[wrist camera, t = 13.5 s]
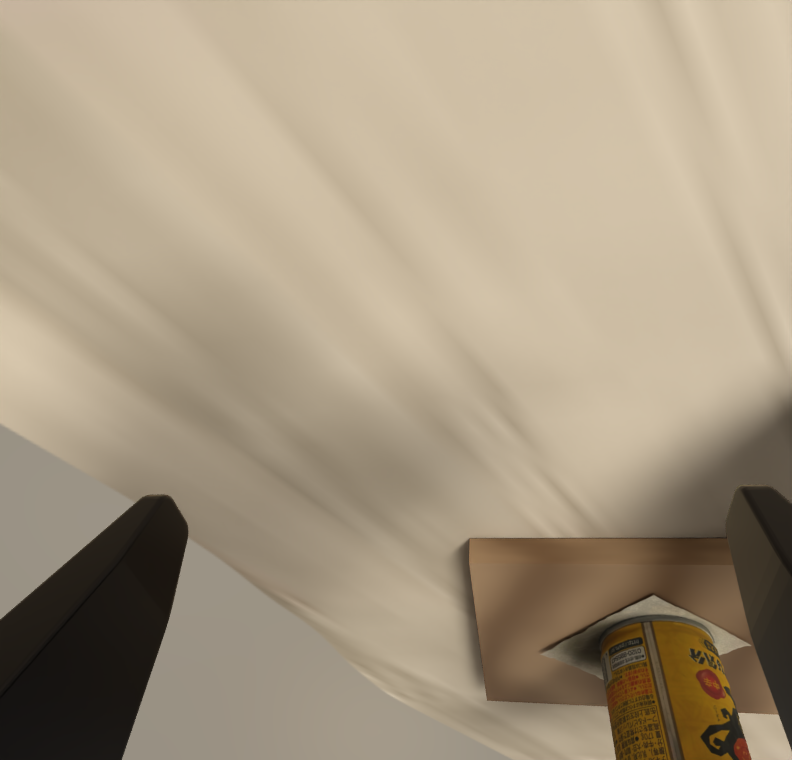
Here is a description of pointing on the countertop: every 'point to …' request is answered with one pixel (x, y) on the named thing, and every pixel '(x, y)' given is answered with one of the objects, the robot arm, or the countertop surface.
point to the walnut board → (597, 609)
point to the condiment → (662, 682)
